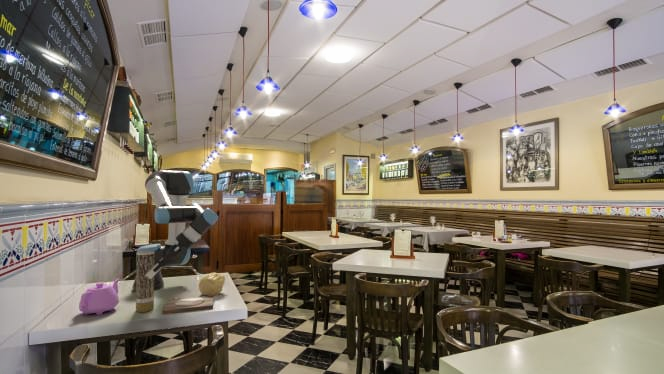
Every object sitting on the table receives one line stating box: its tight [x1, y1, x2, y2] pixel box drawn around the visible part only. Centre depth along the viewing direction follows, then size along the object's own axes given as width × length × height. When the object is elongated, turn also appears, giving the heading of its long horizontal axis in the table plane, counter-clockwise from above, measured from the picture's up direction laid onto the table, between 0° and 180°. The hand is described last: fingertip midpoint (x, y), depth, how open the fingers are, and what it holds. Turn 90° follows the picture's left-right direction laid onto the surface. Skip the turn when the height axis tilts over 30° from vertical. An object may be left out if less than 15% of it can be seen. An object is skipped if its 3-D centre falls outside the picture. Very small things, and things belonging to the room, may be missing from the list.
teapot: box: [78, 277, 120, 316], centre depth 147 cm, size 20×14×12 cm
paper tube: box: [135, 251, 155, 313], centre depth 148 cm, size 7×7×25 cm
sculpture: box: [198, 272, 226, 296], centre depth 172 cm, size 12×12×11 cm
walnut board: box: [161, 295, 215, 315], centre depth 153 cm, size 16×20×2 cm
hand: (150, 273), depth 148 cm, fingers open, 13 cm apart
